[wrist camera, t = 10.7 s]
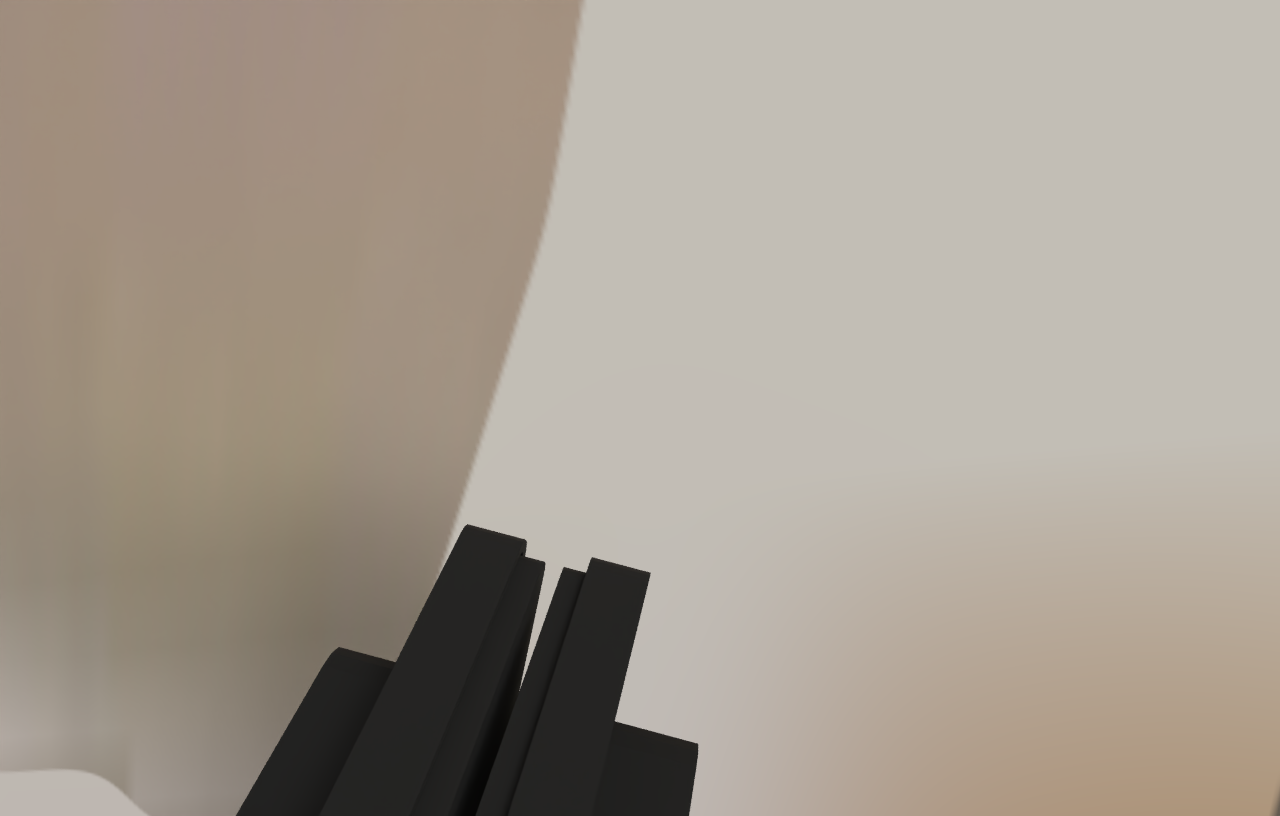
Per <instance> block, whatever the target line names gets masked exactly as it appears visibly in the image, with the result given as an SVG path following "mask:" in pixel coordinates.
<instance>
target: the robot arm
mask: <svg viewBox="0 0 1280 816" xmlns="http://www.w3.org/2000/svg"><path fill="white" fill-rule="evenodd" d="M526 545H527V541H526V540H525V539H521V538H517V537H513V536H510V535H506V534H502V533H498V532H495V531H491V530H487V529H483V528H479V527H475V526H472V525H468V524H467V525H466V526H465V527H464V528H463V530H462V532H461V534H460V536H459V538H458V540H457V542H456V544H455V546H454V548H453V550H452V552H451V554H450V556H449V558H448V559H447V561H446V563H445V565H444V567H443V569H442V571H441V573H440V575H439V577H438V579H437V581H436V583H435V585H434V587H433V589H432V591H431V593H430V595H429V597H428V599H427V601H426V603H425V605H424V607H423V609H422V611H421V613H420V615H419V617H418V619H417V621H416V623H415V625H414V627H413V629H412V631H411V633H410V635H409V637H408V639H407V641H406V643H405V645H404V647H403V649H402V651H401V653H400V655H399V657H398V659H397V661H396V662H392V661H389V660H385V659H381V658H378V657H374V656H370V655H366V654H363V653H359V652H355V651H352V650H348V649H344V648H340V647H338V648H337V649H336V650H335V651H333V652H332V653H331V655H330V656H329V658H328V659H327V661H326V662H325V664H324V665H323V667H322V668H321V670H320V672H319V673H318V675H317V677H316V679H315V680H314V682H313V684H312V686H311V687H310V689H309V691H308V692H307V694H306V696H305V698H304V699H303V701H302V703H301V704H300V706H299V708H298V710H297V711H296V713H295V715H294V717H293V718H292V720H291V722H290V723H289V725H288V727H287V729H286V730H285V732H284V734H283V736H282V737H281V739H280V741H279V742H278V744H277V746H276V748H275V749H274V751H273V753H272V754H271V756H270V758H269V760H268V761H267V763H266V765H265V767H264V768H263V770H262V772H261V773H260V775H259V777H258V779H257V780H256V782H255V784H254V786H253V787H252V789H251V791H250V792H249V794H248V796H247V798H246V799H245V801H244V803H243V804H242V806H241V808H240V810H239V811H238V813H237V815H236V816H689V812H690V805H691V799H692V792H693V785H694V779H695V772H696V765H697V758H698V744H697V743H693V742H689V741H686V740H682V739H678V738H674V737H671V736H667V735H663V734H660V733H656V732H652V731H648V730H645V729H641V728H637V727H634V726H630V725H626V724H622V723H619V722H615V717H616V713H617V709H618V705H619V701H620V697H621V693H622V689H623V685H624V681H625V676H626V672H627V668H628V664H629V659H630V656H631V652H632V648H633V644H634V640H635V635H636V631H637V627H638V623H639V619H640V614H641V611H642V607H643V603H644V598H645V595H646V590H647V586H648V582H649V578H650V573H649V572H646V571H642V570H638V569H634V568H630V567H627V566H623V565H619V564H615V563H612V562H607V561H604V560H600V559H596V558H593V557H592V558H591V560H590V563H589V566H588V569H587V572H586V573H585V572H581V571H577V570H573V569H569V568H566V567H564V568H563V570H562V573H561V575H560V578H559V581H558V584H557V587H556V590H555V592H554V595H553V598H552V601H551V604H550V606H549V609H548V612H547V615H546V618H545V621H544V623H543V626H542V630H541V632H540V635H539V638H538V641H537V643H536V646H535V649H534V652H533V655H532V657H531V660H530V663H529V666H528V669H527V672H526V674H525V677H524V680H523V683H522V686H521V688H520V685H521V680H522V676H523V671H524V666H525V661H526V657H527V652H528V647H529V643H530V638H531V633H532V628H533V623H534V618H535V613H536V609H537V604H538V599H539V595H540V590H541V585H542V581H543V576H544V571H545V562H543V561H539V560H535V559H532V558H528V557H525V553H526ZM519 690H520V691H519Z"/></svg>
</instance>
